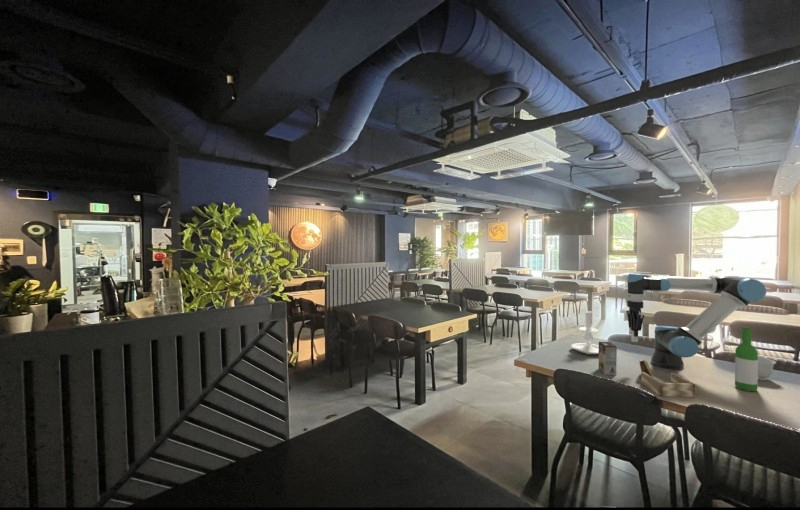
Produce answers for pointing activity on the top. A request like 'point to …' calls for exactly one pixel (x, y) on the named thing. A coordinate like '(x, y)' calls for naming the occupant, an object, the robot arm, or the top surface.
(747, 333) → the wine bottle
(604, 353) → the coffee box
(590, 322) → the candlestick
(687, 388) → the box
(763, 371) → the teacup
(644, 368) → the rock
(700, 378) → the top surface
